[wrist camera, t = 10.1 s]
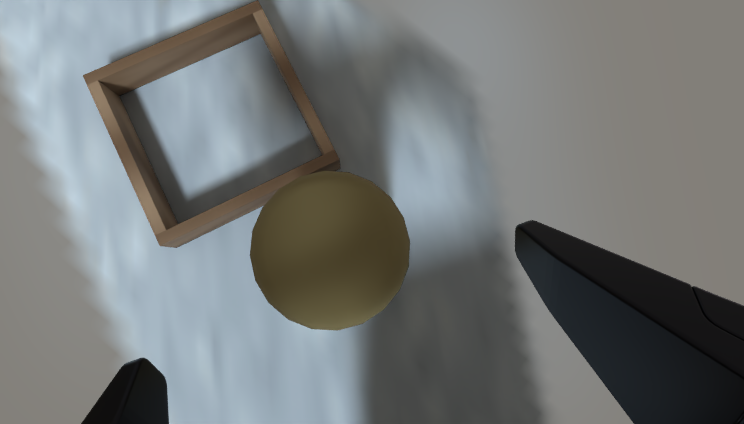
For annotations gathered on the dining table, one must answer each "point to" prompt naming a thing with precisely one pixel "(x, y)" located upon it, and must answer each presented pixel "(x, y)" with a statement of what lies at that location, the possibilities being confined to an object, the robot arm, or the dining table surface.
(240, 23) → the frame
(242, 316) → the dining table surface
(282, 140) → the dining table surface
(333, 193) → the cork
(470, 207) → the dining table surface
